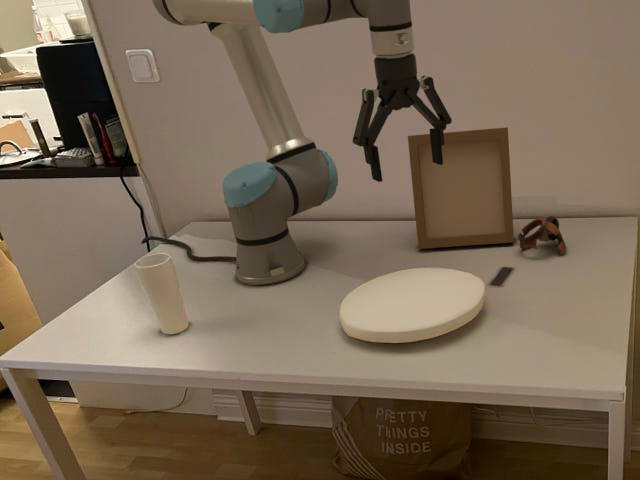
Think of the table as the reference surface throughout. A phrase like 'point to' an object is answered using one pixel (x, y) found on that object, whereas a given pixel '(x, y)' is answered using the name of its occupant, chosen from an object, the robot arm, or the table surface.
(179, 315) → the drinking glass
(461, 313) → the plate
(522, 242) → the brown curved piece
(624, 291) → the table surface
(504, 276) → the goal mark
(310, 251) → the table surface
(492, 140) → the photo frame
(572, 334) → the table surface
